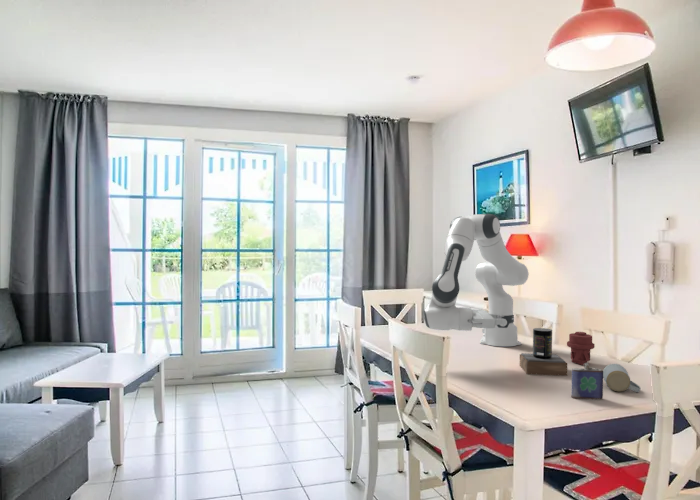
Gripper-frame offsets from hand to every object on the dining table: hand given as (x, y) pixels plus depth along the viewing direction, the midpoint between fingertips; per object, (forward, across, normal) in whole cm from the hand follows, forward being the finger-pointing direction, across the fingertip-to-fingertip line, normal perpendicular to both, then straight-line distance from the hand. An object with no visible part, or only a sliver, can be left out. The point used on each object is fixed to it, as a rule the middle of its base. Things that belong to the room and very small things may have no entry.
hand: (503, 319), depth 192 cm
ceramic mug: (+33, -24, +19) cm, 45 cm away
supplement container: (+14, -2, +14) cm, 20 cm away
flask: (+19, -35, +19) cm, 44 cm away
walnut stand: (+14, -2, +19) cm, 23 cm away
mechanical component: (+32, +12, +20) cm, 39 cm away
